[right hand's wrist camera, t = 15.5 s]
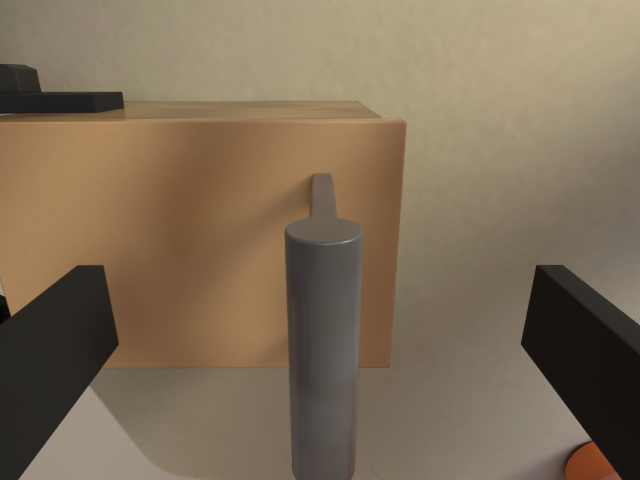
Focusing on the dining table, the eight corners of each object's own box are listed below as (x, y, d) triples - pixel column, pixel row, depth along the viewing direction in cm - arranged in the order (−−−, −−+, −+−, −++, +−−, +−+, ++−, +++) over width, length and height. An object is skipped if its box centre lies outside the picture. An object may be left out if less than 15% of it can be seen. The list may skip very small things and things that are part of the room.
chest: (358, 101, 25) (384, 118, 15) (354, 256, 29) (372, 351, 19) (111, 101, 25) (-23, 118, 15) (138, 256, 29) (42, 352, 19)
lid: (401, 118, 15) (481, 160, 8) (386, 352, 19) (430, 538, 11) (-24, 118, 15) (-362, 162, 8) (42, 353, 19) (-145, 539, 11)
